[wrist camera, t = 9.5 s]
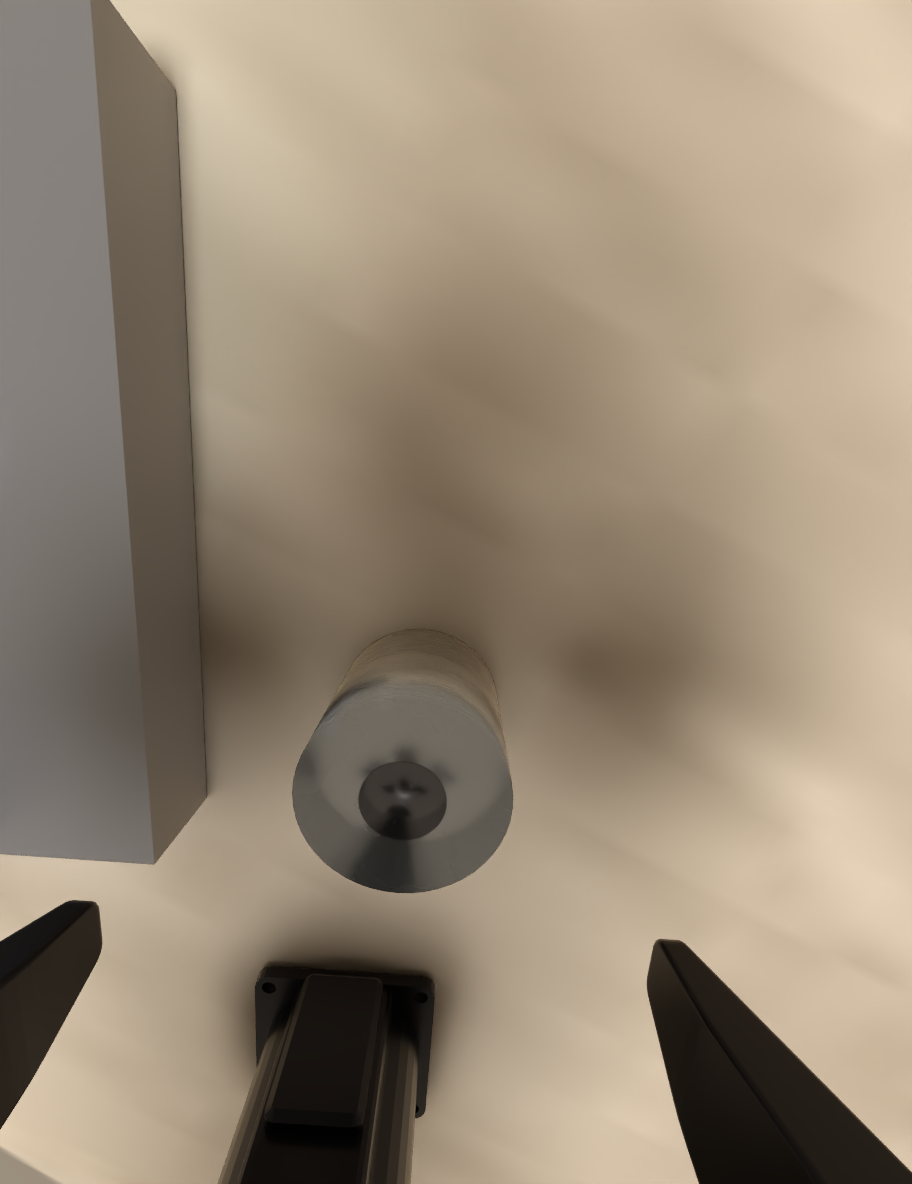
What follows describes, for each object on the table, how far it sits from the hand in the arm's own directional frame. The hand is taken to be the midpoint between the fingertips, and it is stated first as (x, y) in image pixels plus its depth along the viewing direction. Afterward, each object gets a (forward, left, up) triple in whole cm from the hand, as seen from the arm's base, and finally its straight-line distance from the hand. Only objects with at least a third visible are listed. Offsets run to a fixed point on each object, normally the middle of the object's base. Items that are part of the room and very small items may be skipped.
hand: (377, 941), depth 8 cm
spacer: (0, 0, -8) cm, 8 cm away
